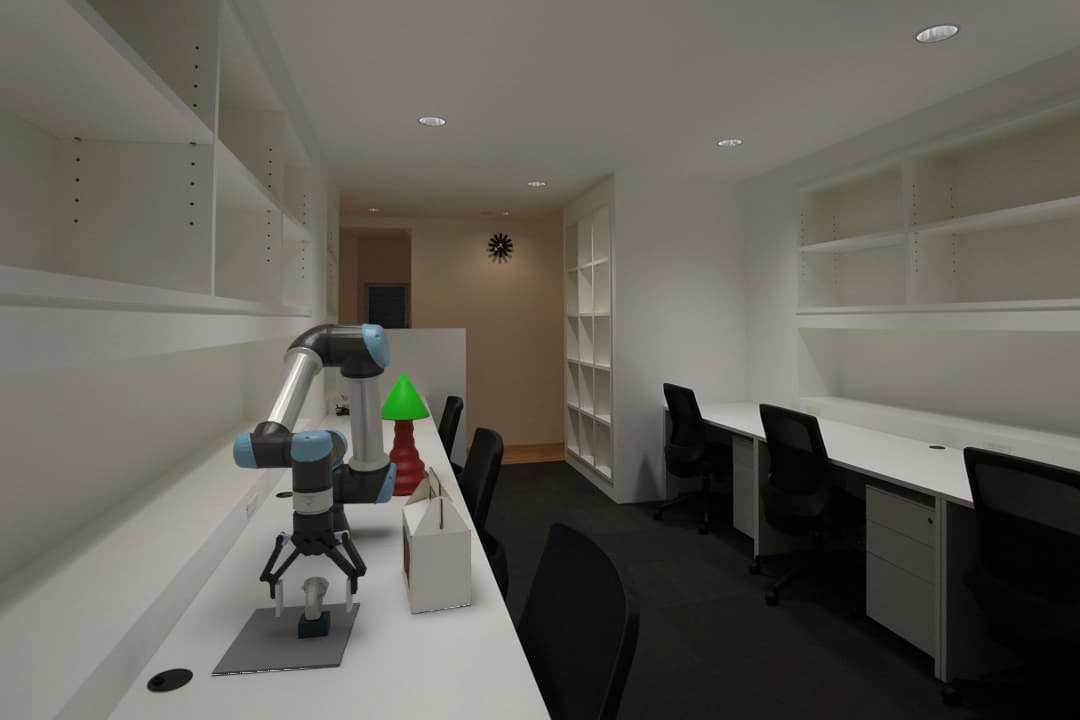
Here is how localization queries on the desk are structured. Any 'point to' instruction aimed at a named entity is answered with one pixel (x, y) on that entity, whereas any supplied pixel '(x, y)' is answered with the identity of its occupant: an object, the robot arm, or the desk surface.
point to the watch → (314, 610)
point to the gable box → (435, 549)
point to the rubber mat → (287, 641)
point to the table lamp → (405, 435)
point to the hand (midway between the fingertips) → (315, 611)
